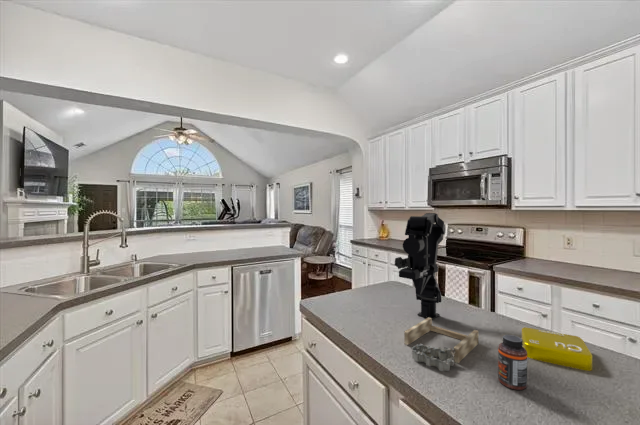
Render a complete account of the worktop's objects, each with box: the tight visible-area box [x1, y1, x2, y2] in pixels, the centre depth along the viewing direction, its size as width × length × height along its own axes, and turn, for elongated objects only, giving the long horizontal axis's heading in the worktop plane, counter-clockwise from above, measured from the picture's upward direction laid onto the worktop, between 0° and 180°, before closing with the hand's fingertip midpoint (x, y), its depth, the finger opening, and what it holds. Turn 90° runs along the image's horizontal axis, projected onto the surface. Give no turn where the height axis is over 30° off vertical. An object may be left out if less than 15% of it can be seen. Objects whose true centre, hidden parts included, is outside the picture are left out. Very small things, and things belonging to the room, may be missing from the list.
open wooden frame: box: [403, 317, 480, 364], centre depth 92 cm, size 17×16×4 cm
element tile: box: [521, 326, 593, 372], centre depth 86 cm, size 15×15×5 cm
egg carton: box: [410, 343, 455, 372], centre depth 82 cm, size 11×8×4 cm
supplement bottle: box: [497, 334, 528, 391], centre depth 71 cm, size 6×6×11 cm
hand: (419, 294), depth 105 cm, fingers closed
